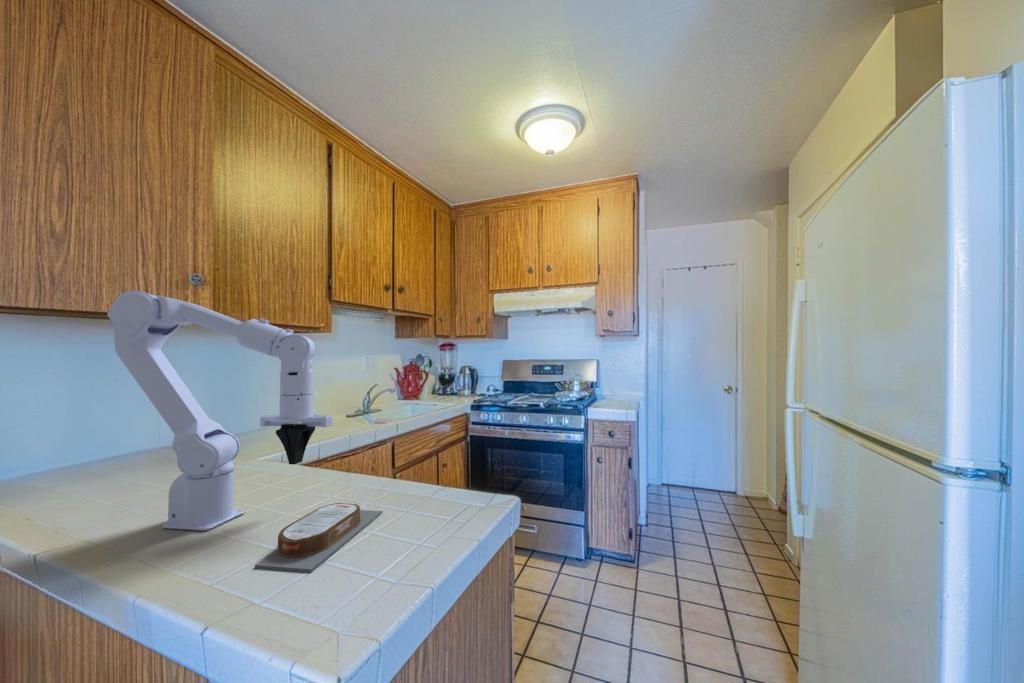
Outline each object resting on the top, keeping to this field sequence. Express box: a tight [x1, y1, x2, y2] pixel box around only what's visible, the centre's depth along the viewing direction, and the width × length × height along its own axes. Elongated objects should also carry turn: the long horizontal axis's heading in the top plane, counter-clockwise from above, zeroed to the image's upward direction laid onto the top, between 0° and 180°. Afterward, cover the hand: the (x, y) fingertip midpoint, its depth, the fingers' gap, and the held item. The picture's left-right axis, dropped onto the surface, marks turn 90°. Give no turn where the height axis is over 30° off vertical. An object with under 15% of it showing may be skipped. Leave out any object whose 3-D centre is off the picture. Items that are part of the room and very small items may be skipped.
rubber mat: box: [254, 509, 383, 573], centre depth 62 cm, size 9×20×1 cm, turn 171°
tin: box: [276, 502, 361, 558], centre depth 62 cm, size 15×3×8 cm
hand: (295, 462), depth 73 cm, fingers closed
